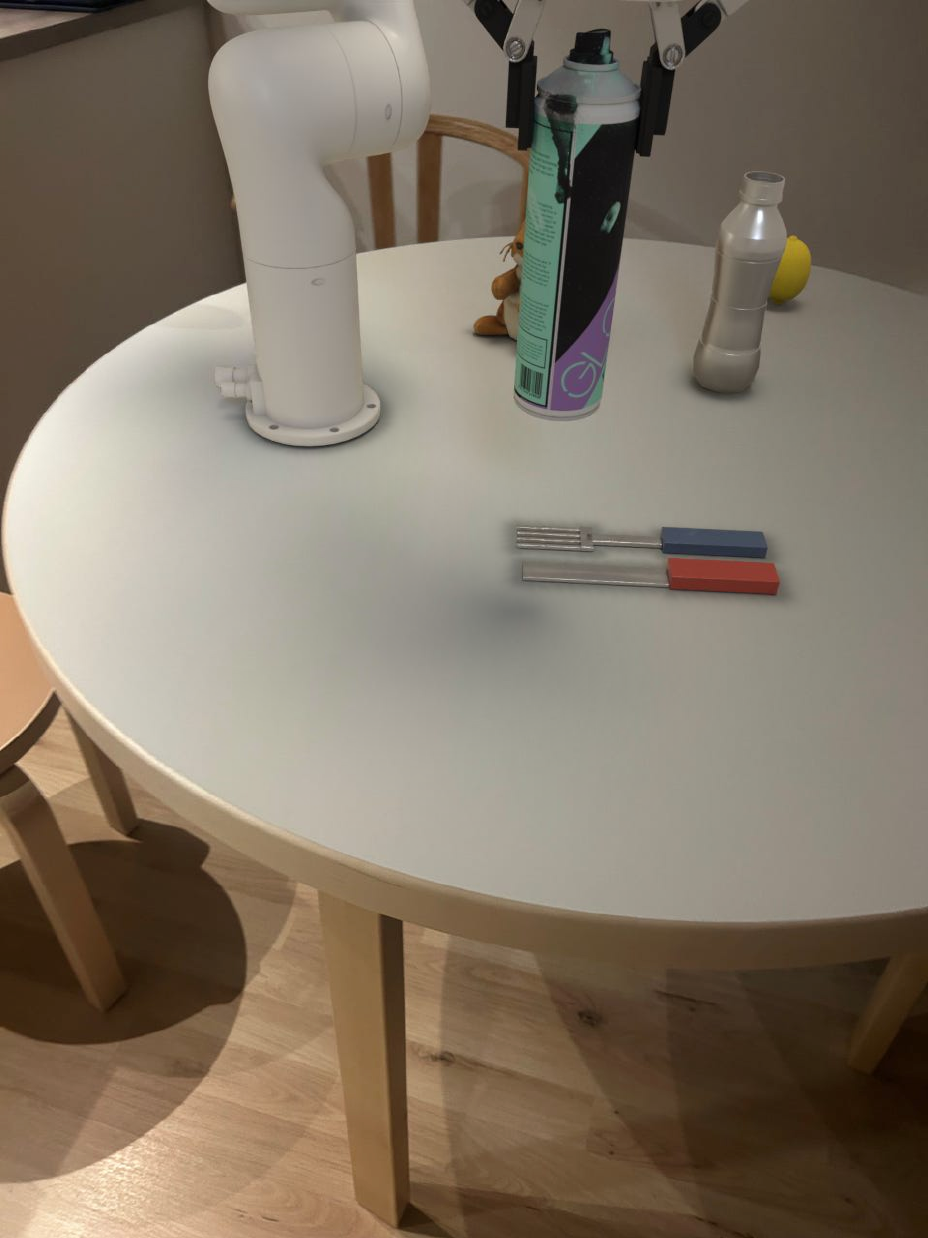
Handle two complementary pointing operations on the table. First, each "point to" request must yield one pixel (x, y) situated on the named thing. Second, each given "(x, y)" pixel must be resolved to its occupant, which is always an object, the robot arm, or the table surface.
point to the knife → (666, 575)
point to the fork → (649, 540)
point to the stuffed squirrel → (506, 294)
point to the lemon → (791, 271)
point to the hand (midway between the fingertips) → (583, 142)
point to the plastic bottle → (742, 285)
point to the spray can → (574, 229)
